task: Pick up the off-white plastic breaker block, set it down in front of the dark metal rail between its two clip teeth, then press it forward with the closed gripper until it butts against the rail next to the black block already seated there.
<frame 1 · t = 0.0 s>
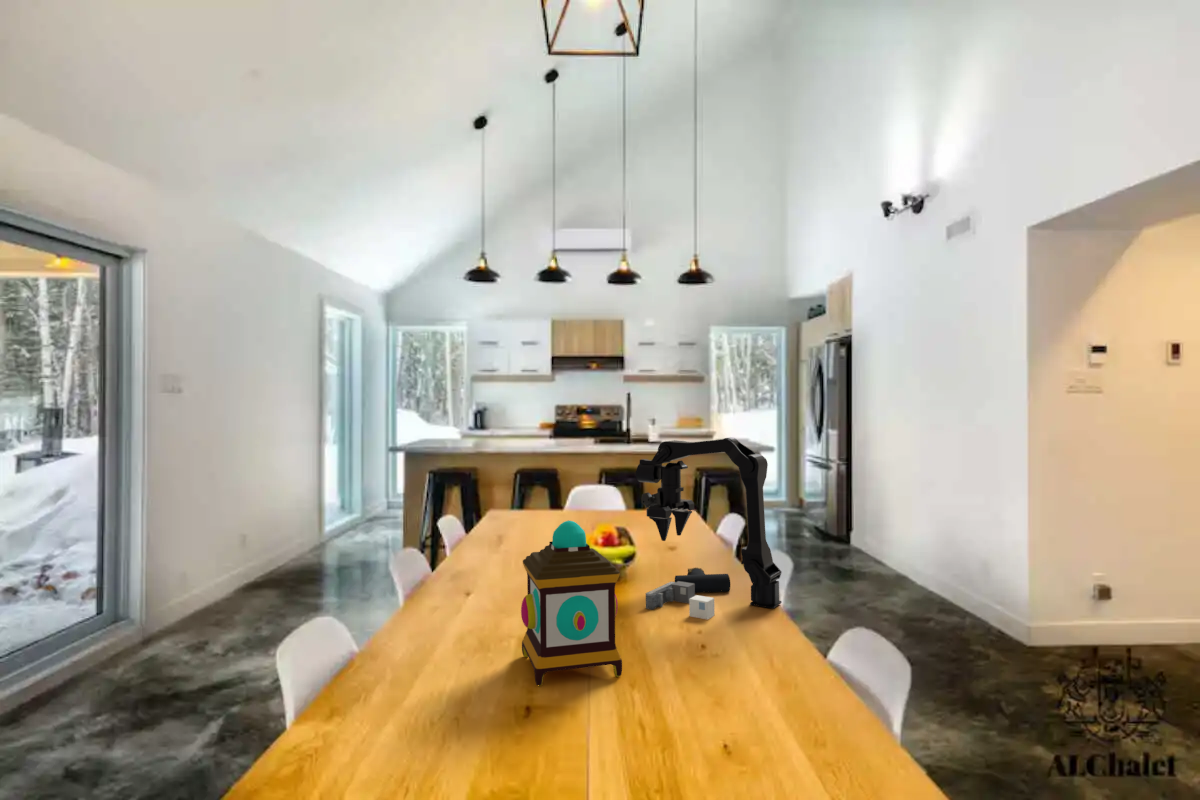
hand: (671, 538, 200), 15 cm above the table, fingers open, 9 cm apart
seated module: (683, 600, 189), on the table
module: (702, 616, 175), on the table
decorative lantern: (570, 667, 142), on the table
rail: (662, 602, 186), on the table
pipe connector: (699, 590, 200), on the table
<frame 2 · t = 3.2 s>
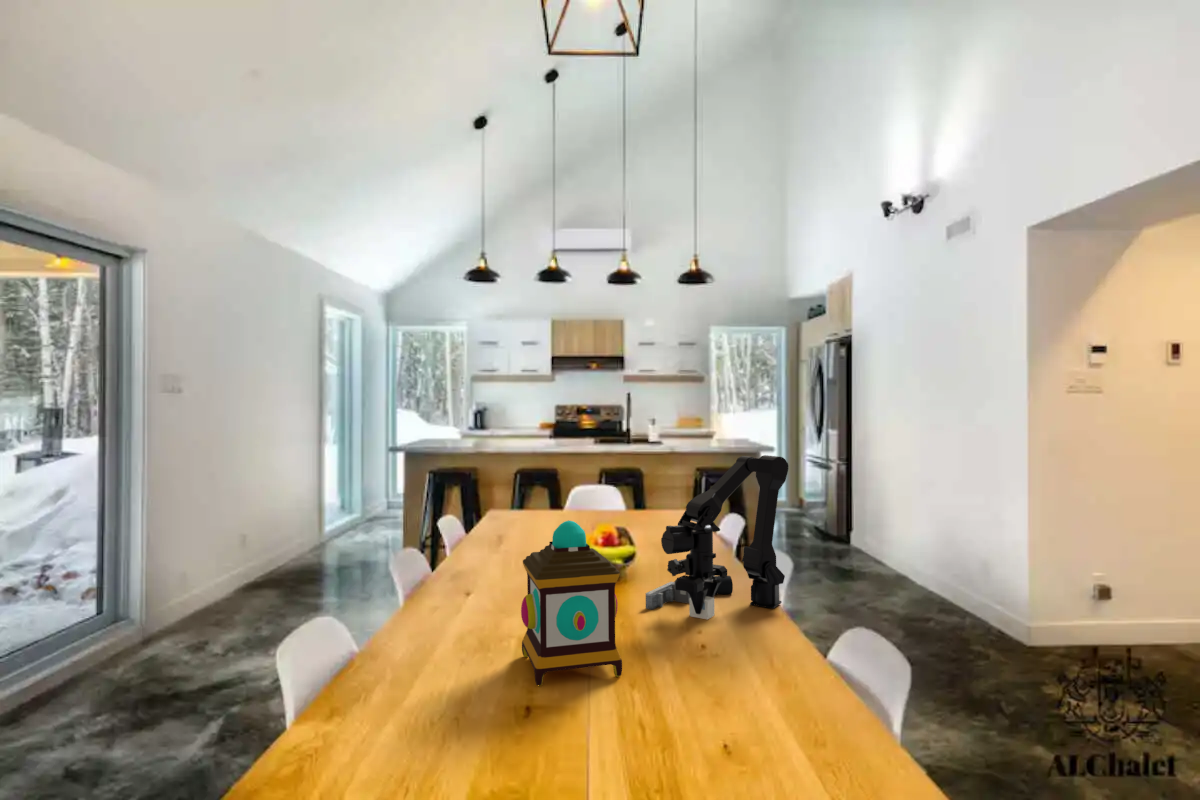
hand: (701, 611, 175), 1 cm above the table, fingers closed on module, 4 cm apart
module: (702, 615, 175), on the table, touching gripper
pipe connector: (701, 592, 198), on the table
everything else where it was.
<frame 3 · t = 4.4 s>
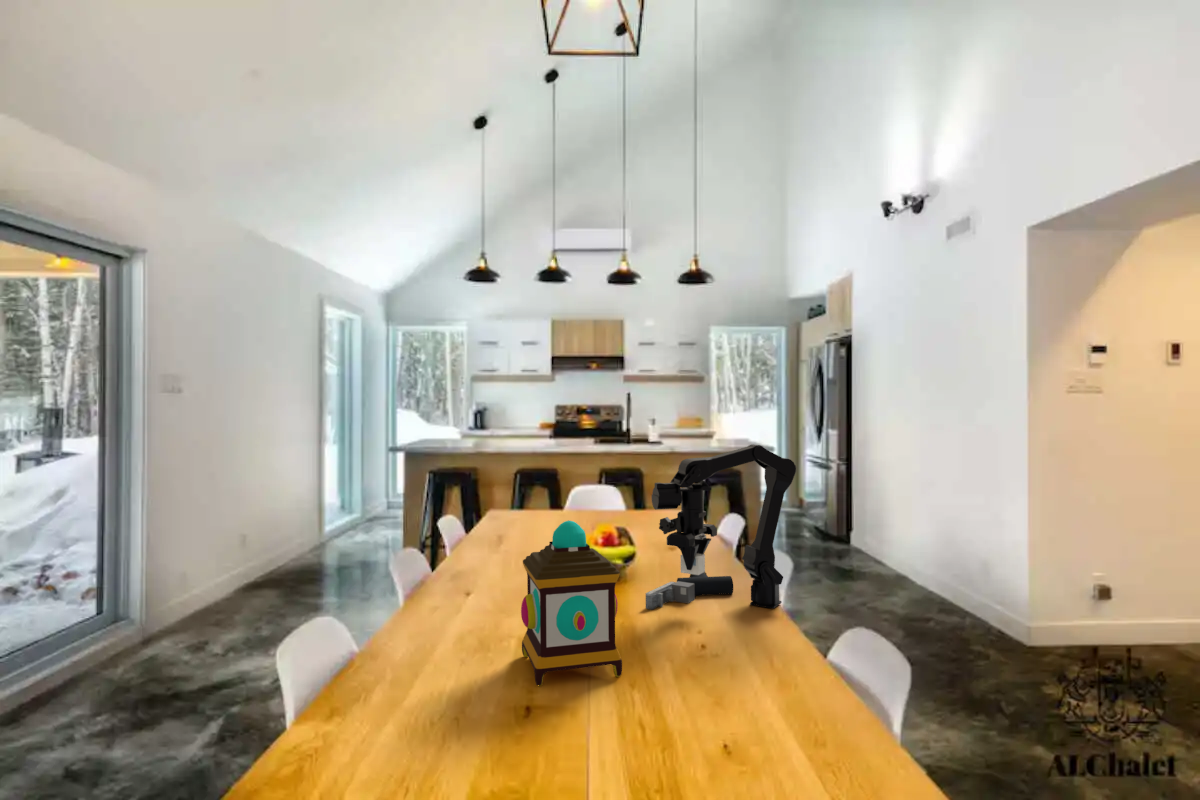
hand: (692, 568, 179), 11 cm above the table, fingers closed on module, 4 cm apart
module: (692, 572, 179), point 10 cm above the table, touching gripper
when the fingers open (2 cm above the table, at t = 6.1 s): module drops 2 cm, on the table.
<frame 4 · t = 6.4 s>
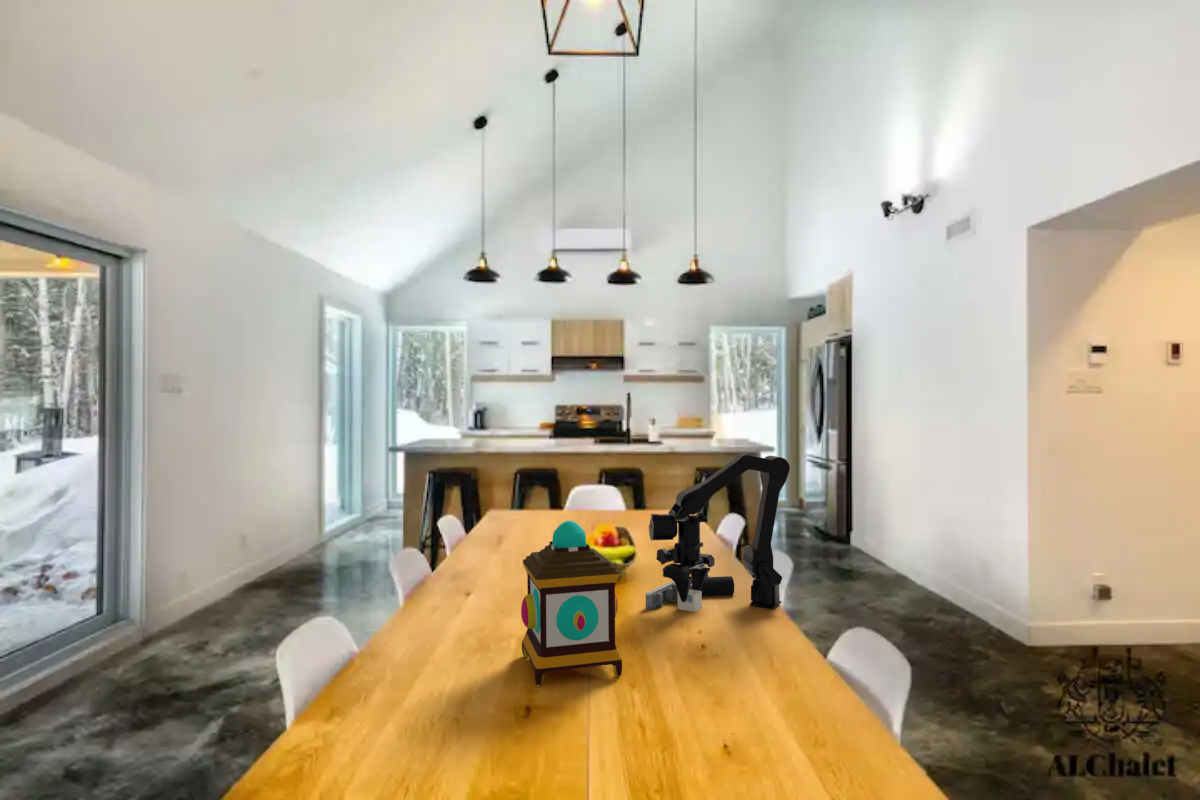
hand: (689, 598, 181), 2 cm above the table, fingers open, 7 cm apart
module: (689, 608, 181), on the table
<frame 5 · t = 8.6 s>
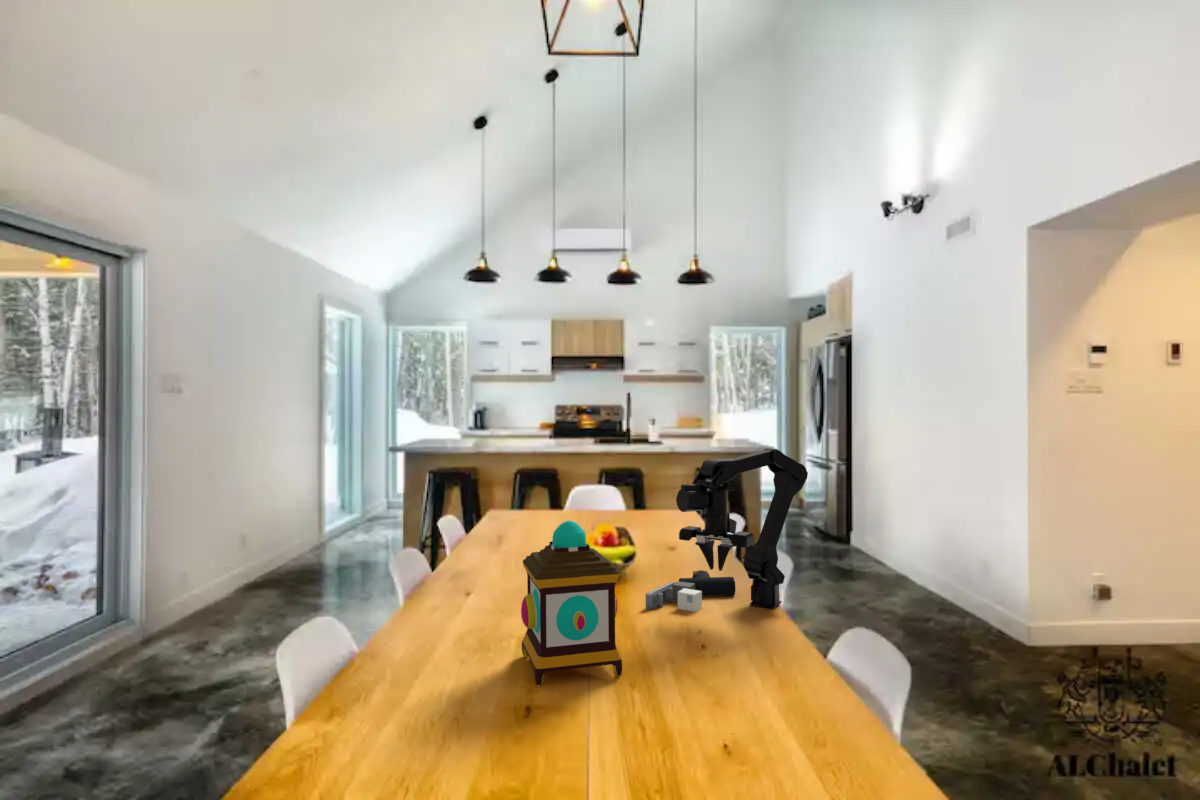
hand: (716, 570, 177), 11 cm above the table, fingers closed
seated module: (683, 600, 189), on the table, touching pipe connector
pipe connector: (704, 593, 197), on the table, touching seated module
everything else where it was.
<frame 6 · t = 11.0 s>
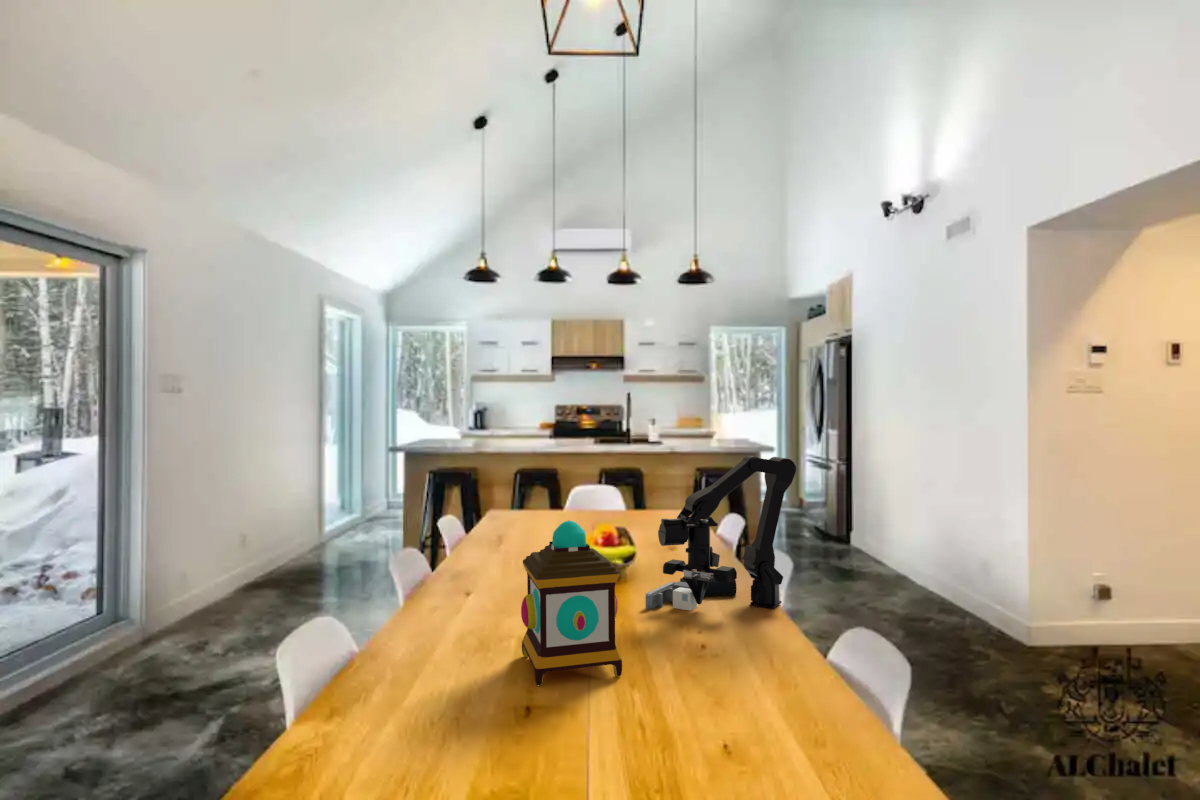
hand: (699, 603, 180), 2 cm above the table, fingers closed
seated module: (684, 600, 188), on the table
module: (684, 607, 182), on the table, touching gripper
pipe connector: (705, 593, 197), on the table
everything else where it was.
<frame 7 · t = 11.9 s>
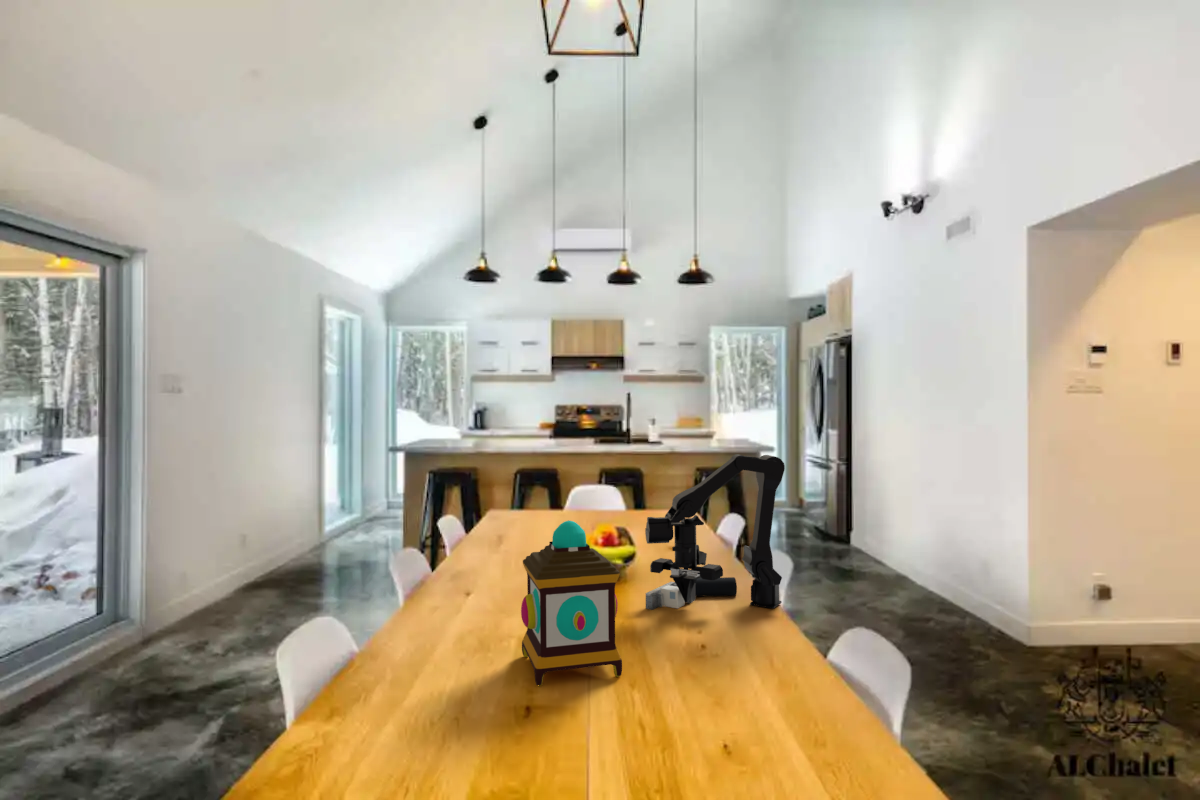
hand: (686, 601, 182), 2 cm above the table, fingers closed
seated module: (684, 600, 188), on the table, touching rail
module: (672, 605, 184), on the table, touching gripper, rail
everything else where it was.
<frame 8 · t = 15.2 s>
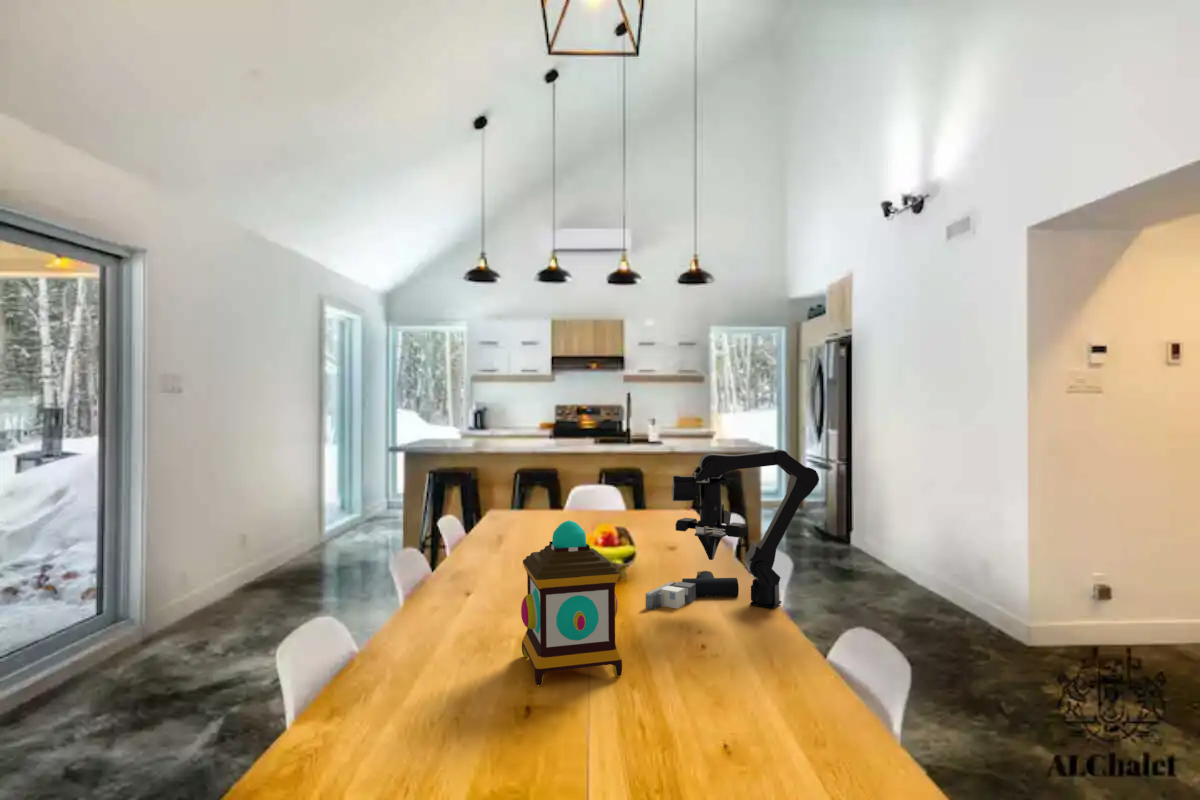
hand: (711, 559, 184), 12 cm above the table, fingers closed
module: (672, 605, 184), on the table, touching rail
at the end: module 0.1 cm from the target spot on the table beside the rail, on the table; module tilted 0° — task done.
